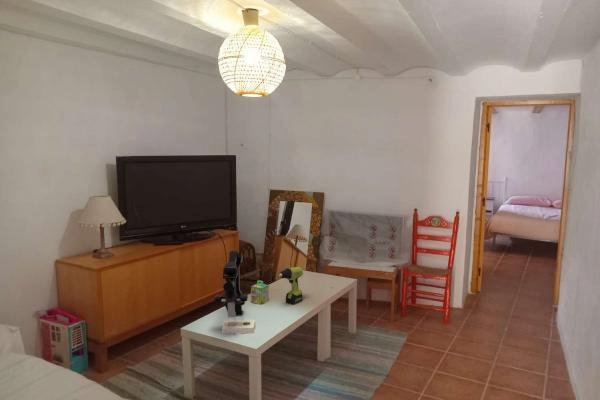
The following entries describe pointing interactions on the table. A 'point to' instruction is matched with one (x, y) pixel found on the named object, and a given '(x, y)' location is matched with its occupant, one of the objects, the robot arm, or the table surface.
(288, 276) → the cordless drill
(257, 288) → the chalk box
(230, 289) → the robot arm
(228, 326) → the socket plate
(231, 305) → the square peg
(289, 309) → the table surface
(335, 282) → the table surface
